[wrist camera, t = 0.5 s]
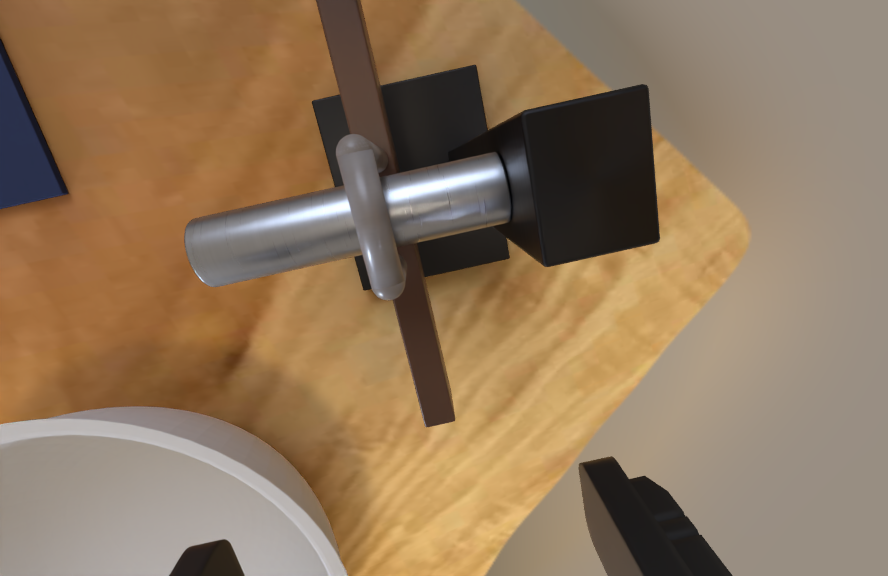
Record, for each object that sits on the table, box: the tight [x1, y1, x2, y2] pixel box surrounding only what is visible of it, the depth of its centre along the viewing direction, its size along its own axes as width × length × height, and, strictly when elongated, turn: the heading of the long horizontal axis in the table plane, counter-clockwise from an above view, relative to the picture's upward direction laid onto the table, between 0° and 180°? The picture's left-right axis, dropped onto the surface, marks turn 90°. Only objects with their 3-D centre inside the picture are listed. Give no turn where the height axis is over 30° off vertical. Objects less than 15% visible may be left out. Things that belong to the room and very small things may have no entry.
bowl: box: [0, 406, 348, 576], centre depth 29 cm, size 27×27×10 cm
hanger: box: [316, 0, 455, 427], centre depth 13 cm, size 17×1×8 cm, turn 12°
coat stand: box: [184, 65, 660, 290], centre depth 18 cm, size 12×10×21 cm
